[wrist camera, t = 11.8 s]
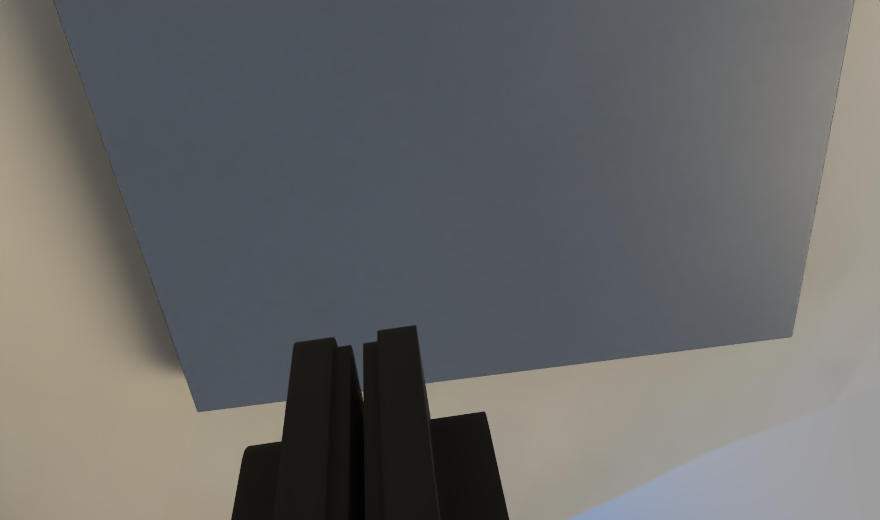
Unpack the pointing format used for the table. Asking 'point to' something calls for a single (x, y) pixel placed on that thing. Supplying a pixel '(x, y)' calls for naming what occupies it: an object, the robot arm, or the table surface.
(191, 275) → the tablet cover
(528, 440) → the table surface
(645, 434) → the table surface
